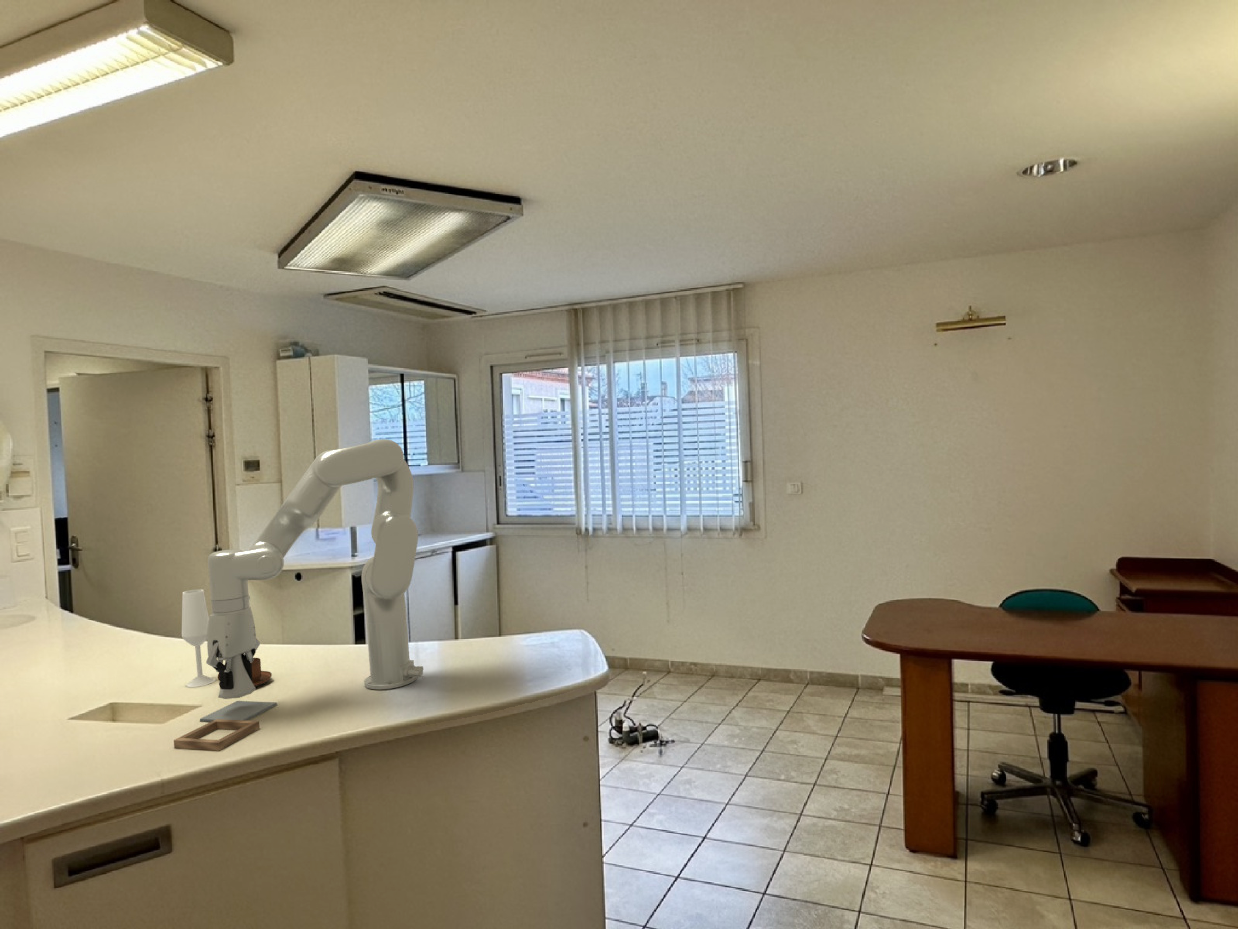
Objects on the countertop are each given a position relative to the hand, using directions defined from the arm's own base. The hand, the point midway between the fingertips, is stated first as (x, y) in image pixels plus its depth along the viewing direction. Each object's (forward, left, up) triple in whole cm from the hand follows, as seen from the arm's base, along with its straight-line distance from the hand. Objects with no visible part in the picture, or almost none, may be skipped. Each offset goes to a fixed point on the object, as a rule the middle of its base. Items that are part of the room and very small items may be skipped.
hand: (236, 683), depth 166 cm
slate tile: (0, 0, -7) cm, 7 cm away
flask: (0, 0, -3) cm, 3 cm away
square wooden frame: (-7, +13, -7) cm, 16 cm away
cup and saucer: (+14, -17, -7) cm, 23 cm away
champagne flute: (+28, -18, -7) cm, 34 cm away
